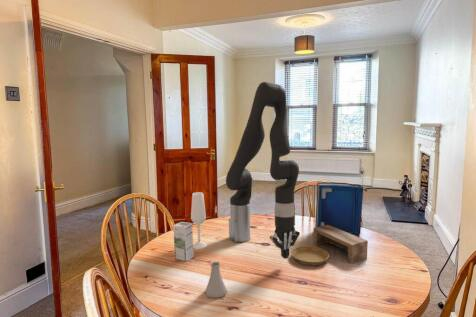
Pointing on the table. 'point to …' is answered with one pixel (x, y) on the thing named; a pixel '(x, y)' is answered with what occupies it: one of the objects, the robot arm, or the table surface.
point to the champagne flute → (198, 215)
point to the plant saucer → (310, 255)
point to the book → (339, 206)
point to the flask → (215, 282)
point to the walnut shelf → (342, 241)
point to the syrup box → (183, 241)
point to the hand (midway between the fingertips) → (285, 257)
